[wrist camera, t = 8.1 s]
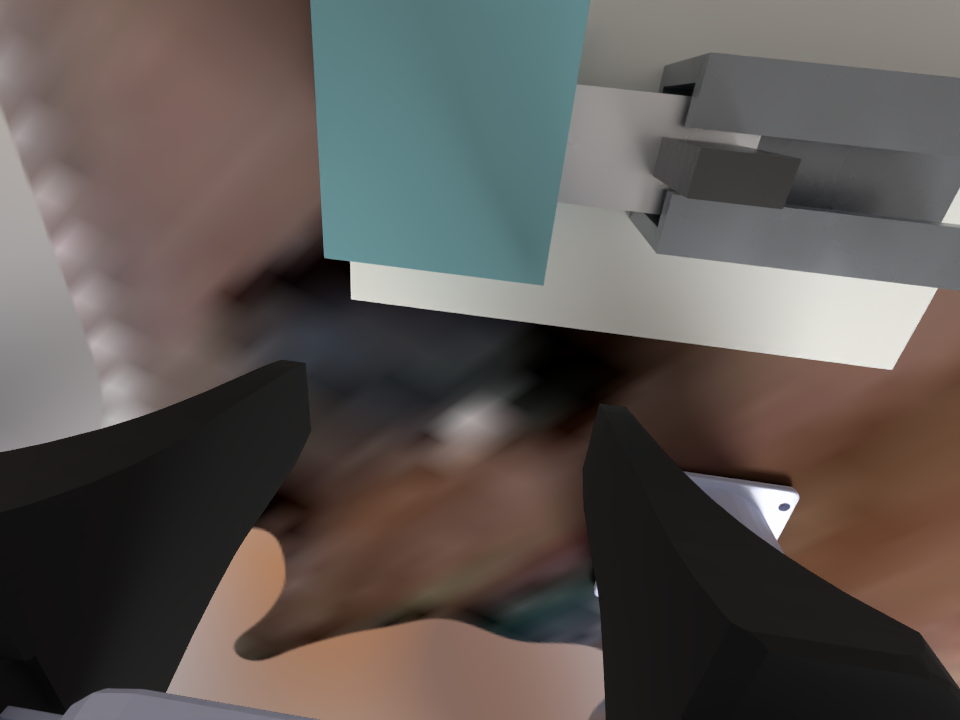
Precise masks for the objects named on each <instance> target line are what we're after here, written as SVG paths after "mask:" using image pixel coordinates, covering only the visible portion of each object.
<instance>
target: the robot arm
mask: <svg viewBox="0 0 960 720" xmlns="http://www.w3.org/2000/svg"><path fill="white" fill-rule="evenodd" d="M310 432H311V424H310V412H309V400H308V387H307V375H306V363H301V362H294V361H287V360H279V361H276V362H273V363H271V364H268V365H266V366H263V367H261V368H258V369H256V370H254V371H251V372H249V373H247V374H245V375H242V376H240V377H238V378H236V379H233V380H231V381H229V382H227V383H224V384H222V385H220V386H217V387H215V388H213V389H211V390H208V391H206V392H204V393H201V394H199V395H196V396H194V397H191V398H189V399H186V400H184V401H181V402H179V403H176V404H174V405H171V406H169V407H166V408H164V409H161V410H158V411H155V412H153V413H150V414H147V415H144V416H141V417H138V418H135V419H132V420H129V421H126V422H122V423H119V424H116V425H113V426H109V427H106V428H103V429H99V430H95V431H91V432H87V433H84V434H79V435H76V436H72V437H68V438H64V439H60V440H56V441H52V442H48V443H44V444H40V445H35V446H30V447H25V448H20V449H16V450H11V451H5V452H0V720H318V719H313V718H307V717H301V716H295V715H290V714H284V713H278V712H272V711H266V710H261V709H255V708H249V707H243V706H237V705H232V704H226V703H220V702H215V701H208V700H203V699H197V698H191V697H185V696H180V695H174V694H168V693H166V691H167V689H168V687H169V685H170V682H171V680H172V678H173V676H174V674H175V672H176V670H177V668H178V665H179V663H180V661H181V659H182V657H183V655H184V653H185V650H186V649H187V646H188V644H189V642H190V640H191V638H192V636H193V634H194V631H195V630H196V628H197V626H198V624H199V622H200V620H201V618H202V616H203V614H204V612H205V610H206V608H207V606H208V604H209V602H210V600H211V598H212V596H213V594H214V592H215V590H216V588H217V587H218V585H219V583H220V581H221V579H222V577H223V575H224V574H225V572H226V570H227V568H228V566H229V564H230V562H231V560H232V559H233V557H234V555H235V553H236V552H237V550H238V549H239V547H240V545H241V544H242V542H243V541H244V539H245V537H246V536H247V534H248V533H249V532H250V530H251V529H252V527H253V526H254V524H255V523H256V521H257V520H258V518H259V517H260V515H261V514H262V513H263V511H264V510H265V508H266V507H267V505H268V504H269V502H270V501H271V499H272V498H273V496H274V495H275V494H276V492H277V491H278V489H279V488H280V486H281V485H282V483H283V482H284V480H285V479H286V477H287V476H288V474H289V473H290V471H291V470H292V468H293V467H294V465H295V463H296V461H297V459H298V457H299V455H300V453H301V451H302V449H303V447H304V445H305V443H306V441H307V439H308V436H309V434H310ZM583 499H584V511H585V518H586V524H587V530H588V537H589V543H590V549H591V555H592V561H593V566H594V572H595V578H596V581H595V585H594V593H595V595H596V596H597V597H598V598H599V606H600V615H601V632H602V648H603V665H604V687H605V710H606V720H960V688H959V687H958V685H957V684H956V683H955V681H954V680H953V678H952V677H951V676H950V674H949V673H948V671H947V670H946V669H945V667H944V666H943V665H942V663H941V662H940V660H939V659H938V658H937V656H936V655H935V653H934V652H933V651H932V649H931V648H930V646H929V645H928V644H927V642H926V641H925V640H924V638H923V637H922V635H921V634H920V633H919V632H917V631H915V630H913V629H911V628H910V627H908V626H906V625H904V624H902V623H900V622H898V621H897V620H895V619H893V618H891V617H889V616H887V615H885V614H884V613H882V612H880V611H878V610H876V609H874V608H872V607H871V606H869V605H867V604H865V603H863V602H861V601H859V600H858V599H856V598H854V597H852V596H850V595H849V594H847V593H845V592H843V591H842V590H840V589H838V588H837V587H835V586H833V585H832V584H830V583H829V582H827V581H825V580H824V579H822V578H820V577H819V576H817V575H815V574H814V573H812V572H811V571H809V570H807V569H806V568H804V567H803V566H801V565H800V564H798V563H797V562H795V561H794V560H792V559H790V558H789V557H787V556H786V555H784V553H783V551H782V549H781V547H780V545H779V543H778V542H777V539H778V538H779V536H780V534H781V532H782V530H783V528H784V526H785V525H786V523H787V521H788V519H789V517H790V515H791V513H792V512H793V510H794V508H795V506H796V504H797V502H798V500H799V495H798V493H797V491H796V490H795V489H794V488H792V487H789V486H782V485H775V484H768V483H761V482H754V481H747V480H740V479H733V478H726V477H719V476H712V475H705V474H698V473H691V472H684V471H682V470H681V469H680V468H679V467H678V466H677V465H676V464H675V462H674V461H673V460H672V459H671V458H670V457H669V456H668V455H667V454H666V453H665V452H664V451H663V450H662V448H661V447H660V446H659V445H658V444H657V443H656V442H655V441H654V439H653V438H652V437H651V436H650V435H649V434H648V432H647V431H646V430H645V429H644V428H643V427H642V426H641V424H640V423H639V422H638V421H637V420H636V418H635V417H634V416H633V415H632V414H631V413H630V412H629V411H628V409H627V408H626V407H621V406H614V405H607V404H599V407H598V411H597V415H596V419H595V423H594V427H593V431H592V435H591V439H590V443H589V447H588V451H587V455H586V459H585V463H584V467H583ZM783 503H785V504H783ZM780 504H783V505H780Z"/></svg>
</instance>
